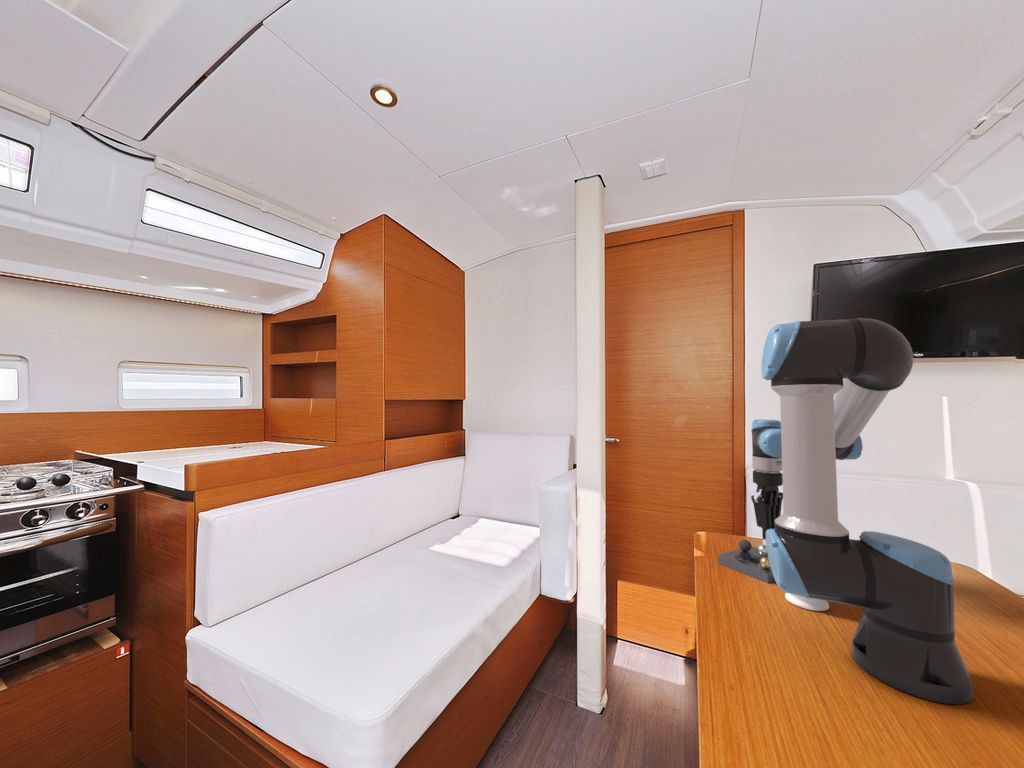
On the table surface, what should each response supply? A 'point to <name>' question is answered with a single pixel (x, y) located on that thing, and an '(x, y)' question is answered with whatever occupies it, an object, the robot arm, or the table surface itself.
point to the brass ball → (765, 562)
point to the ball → (762, 550)
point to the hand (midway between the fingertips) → (768, 550)
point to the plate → (746, 563)
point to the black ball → (745, 545)
